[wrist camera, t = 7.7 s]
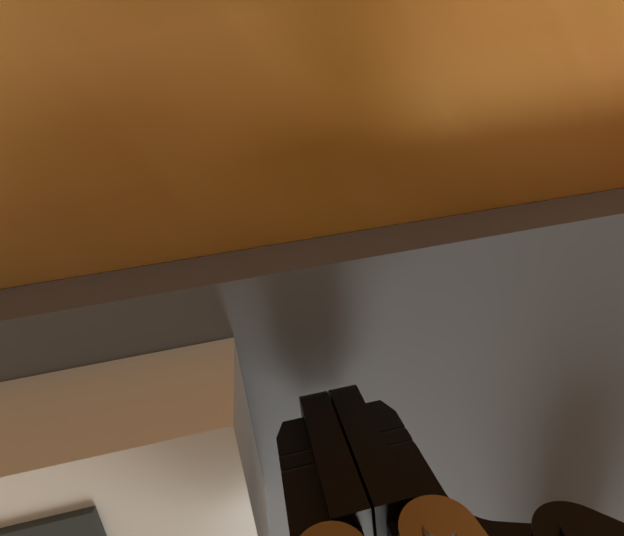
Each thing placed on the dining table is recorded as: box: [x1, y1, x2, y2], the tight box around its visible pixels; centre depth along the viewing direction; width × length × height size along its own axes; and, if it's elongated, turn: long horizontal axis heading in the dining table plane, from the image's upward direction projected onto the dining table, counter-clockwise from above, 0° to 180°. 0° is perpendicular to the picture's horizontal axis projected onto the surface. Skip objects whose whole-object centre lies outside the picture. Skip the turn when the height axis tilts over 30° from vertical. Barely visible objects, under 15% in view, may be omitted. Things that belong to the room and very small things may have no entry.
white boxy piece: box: [0, 337, 269, 536], centre depth 9 cm, size 6×5×4 cm
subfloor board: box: [0, 188, 624, 536], centre depth 15 cm, size 28×18×3 cm, turn 97°
